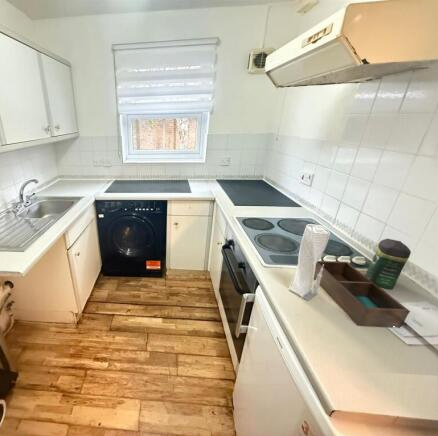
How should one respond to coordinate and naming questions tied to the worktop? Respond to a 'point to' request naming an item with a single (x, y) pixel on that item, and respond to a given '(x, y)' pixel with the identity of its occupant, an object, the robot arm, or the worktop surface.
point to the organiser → (360, 296)
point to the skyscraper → (309, 261)
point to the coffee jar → (388, 263)
